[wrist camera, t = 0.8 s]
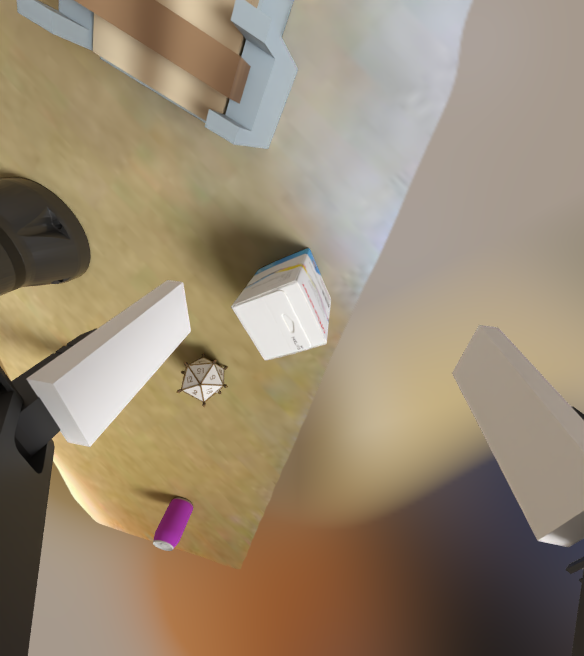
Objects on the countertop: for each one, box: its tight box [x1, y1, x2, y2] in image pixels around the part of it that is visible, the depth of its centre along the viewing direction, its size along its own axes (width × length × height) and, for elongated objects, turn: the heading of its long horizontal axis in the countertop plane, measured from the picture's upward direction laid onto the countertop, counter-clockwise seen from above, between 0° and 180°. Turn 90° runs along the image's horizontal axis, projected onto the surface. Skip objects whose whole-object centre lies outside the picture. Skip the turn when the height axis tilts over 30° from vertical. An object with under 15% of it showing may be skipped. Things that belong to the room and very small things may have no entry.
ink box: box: [231, 248, 331, 360], centre depth 34 cm, size 8×8×12 cm
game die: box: [176, 353, 228, 407], centre depth 47 cm, size 9×8×10 cm
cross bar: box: [74, 0, 251, 104], centre depth 19 cm, size 14×2×2 cm, turn 63°
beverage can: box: [153, 497, 193, 551], centre depth 82 cm, size 8×8×12 cm
